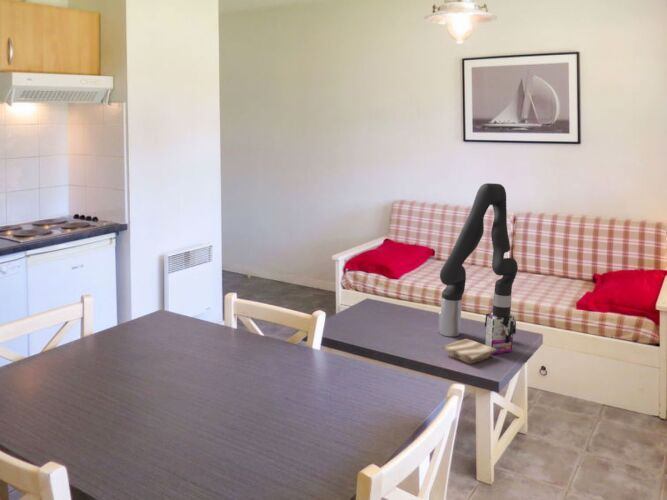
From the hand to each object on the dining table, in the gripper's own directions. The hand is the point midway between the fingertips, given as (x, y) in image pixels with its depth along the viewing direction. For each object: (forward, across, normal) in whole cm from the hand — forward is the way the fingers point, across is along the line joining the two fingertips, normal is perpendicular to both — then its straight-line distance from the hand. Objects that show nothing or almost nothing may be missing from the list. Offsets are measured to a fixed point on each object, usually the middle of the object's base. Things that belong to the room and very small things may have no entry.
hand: (499, 340), depth 282 cm
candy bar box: (+6, 0, 0) cm, 6 cm away
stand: (+5, +4, +15) cm, 16 cm away
